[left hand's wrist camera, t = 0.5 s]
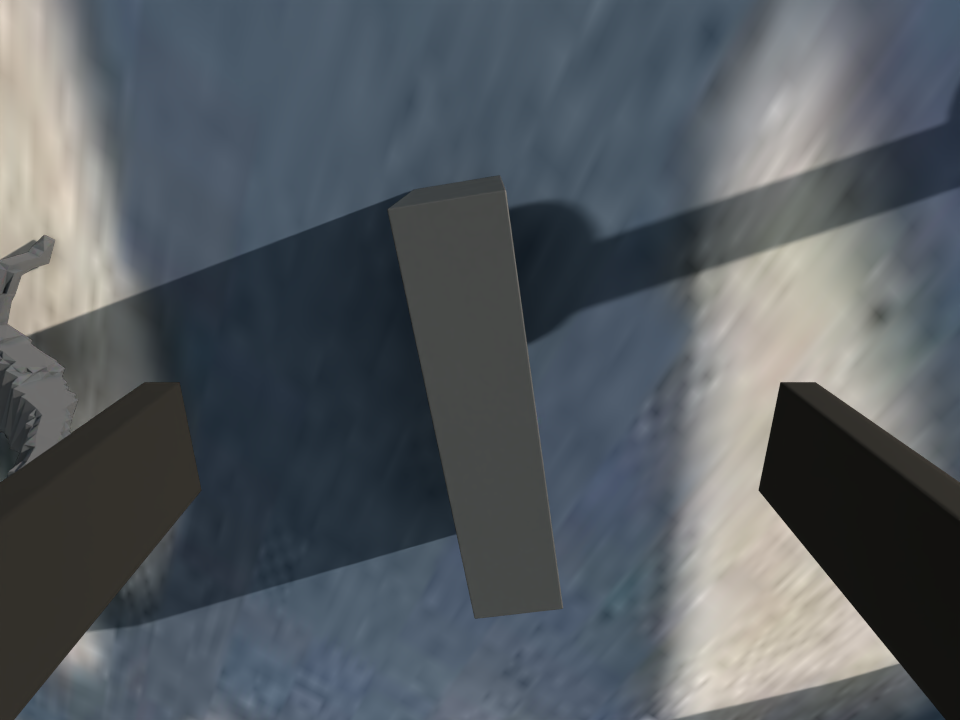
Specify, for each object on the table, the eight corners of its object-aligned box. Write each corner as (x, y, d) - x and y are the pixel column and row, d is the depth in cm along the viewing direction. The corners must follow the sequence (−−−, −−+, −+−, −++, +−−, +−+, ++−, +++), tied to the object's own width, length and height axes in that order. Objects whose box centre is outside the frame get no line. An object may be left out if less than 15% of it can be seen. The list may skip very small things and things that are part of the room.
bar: (412, 189, 29) (386, 208, 22) (500, 175, 29) (505, 189, 21) (476, 517, 37) (474, 619, 29) (546, 508, 37) (563, 609, 29)
